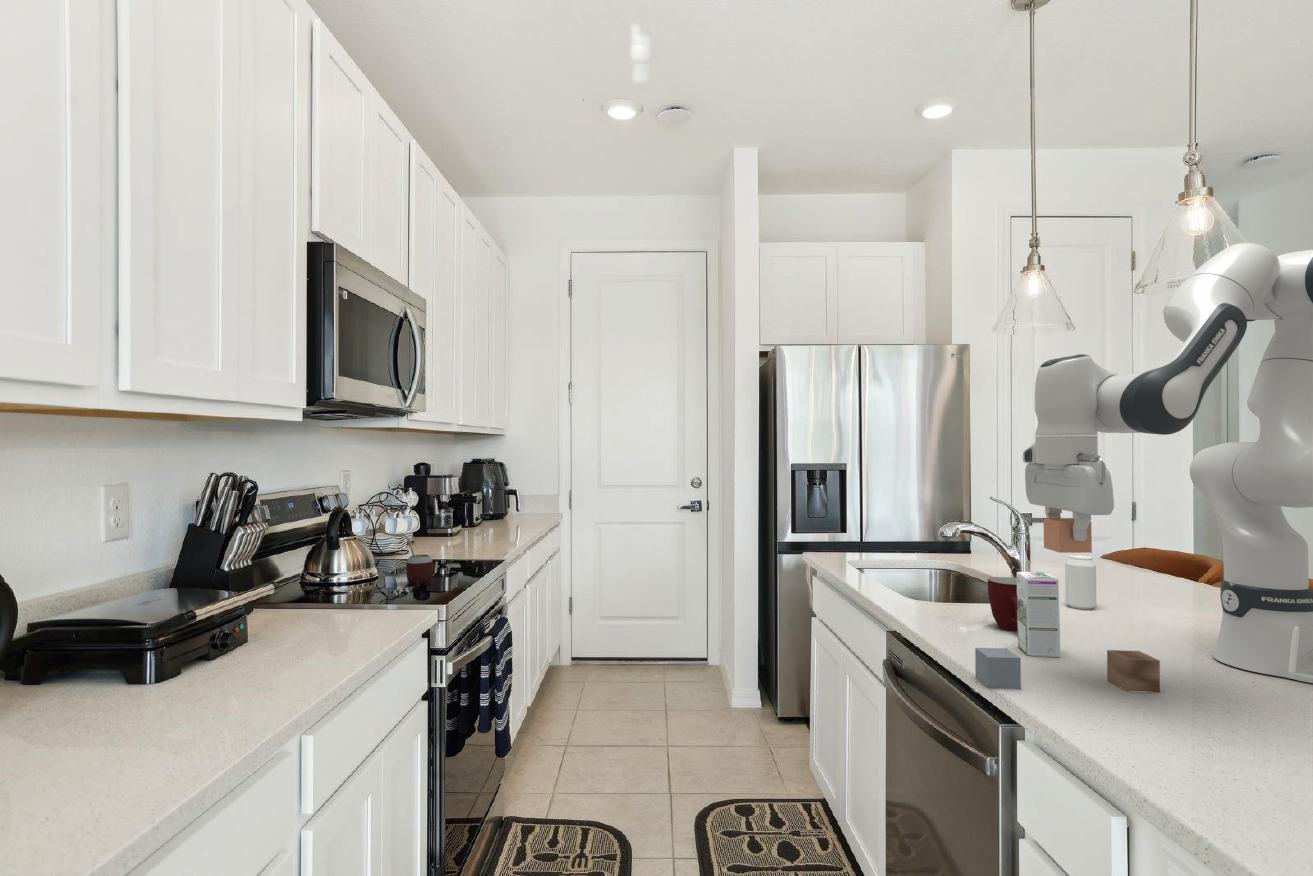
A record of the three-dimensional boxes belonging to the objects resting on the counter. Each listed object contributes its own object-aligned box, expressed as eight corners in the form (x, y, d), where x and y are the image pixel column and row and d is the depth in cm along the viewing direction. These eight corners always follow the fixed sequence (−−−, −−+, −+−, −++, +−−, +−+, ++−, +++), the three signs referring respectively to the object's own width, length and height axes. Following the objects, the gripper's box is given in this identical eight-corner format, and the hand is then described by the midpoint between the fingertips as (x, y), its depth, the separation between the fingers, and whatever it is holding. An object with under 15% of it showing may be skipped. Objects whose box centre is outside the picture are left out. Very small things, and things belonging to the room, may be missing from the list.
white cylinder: (1096, 611, 155) (1096, 559, 155) (1064, 608, 158) (1064, 557, 159) (1096, 606, 160) (1096, 555, 160) (1065, 603, 164) (1065, 553, 164)
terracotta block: (1074, 547, 114) (1074, 518, 114) (1091, 552, 109) (1091, 521, 109) (1043, 547, 114) (1043, 518, 114) (1059, 552, 109) (1059, 521, 109)
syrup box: (1061, 658, 122) (1061, 577, 122) (1025, 656, 123) (1025, 576, 123) (1049, 648, 127) (1049, 571, 128) (1015, 646, 129) (1015, 570, 129)
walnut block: (1139, 681, 110) (1138, 650, 110) (1159, 692, 105) (1159, 660, 105) (1107, 680, 110) (1107, 650, 111) (1126, 692, 106) (1126, 660, 106)
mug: (1045, 637, 135) (1045, 587, 135) (1003, 637, 135) (1003, 587, 135) (1020, 623, 145) (1019, 577, 145) (981, 623, 146) (981, 576, 146)
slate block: (1006, 678, 112) (1006, 648, 112) (1020, 689, 107) (1020, 657, 107) (975, 677, 112) (975, 647, 112) (988, 688, 107) (987, 657, 107)
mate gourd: (435, 582, 189) (435, 528, 189) (429, 588, 181) (429, 532, 181) (407, 583, 188) (407, 529, 188) (400, 589, 180) (400, 533, 180)
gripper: (1125, 454, 101) (1127, 546, 101) (1053, 452, 121) (1055, 529, 121) (1081, 454, 101) (1083, 547, 101) (1017, 452, 122) (1018, 529, 121)
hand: (1067, 537), depth 111 cm, fingers closed on terracotta block, 5 cm apart
